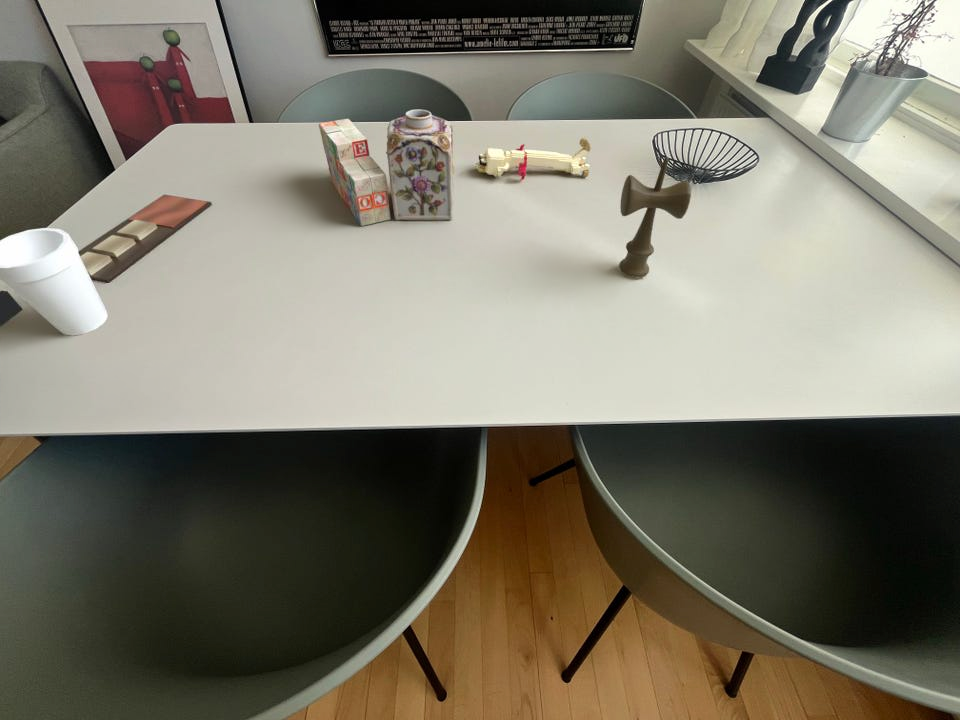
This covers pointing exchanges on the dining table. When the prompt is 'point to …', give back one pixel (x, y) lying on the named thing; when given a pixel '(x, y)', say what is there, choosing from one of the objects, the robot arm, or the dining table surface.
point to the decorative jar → (421, 166)
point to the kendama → (649, 216)
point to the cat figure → (533, 160)
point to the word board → (138, 236)
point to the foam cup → (52, 279)
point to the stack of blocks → (355, 171)
